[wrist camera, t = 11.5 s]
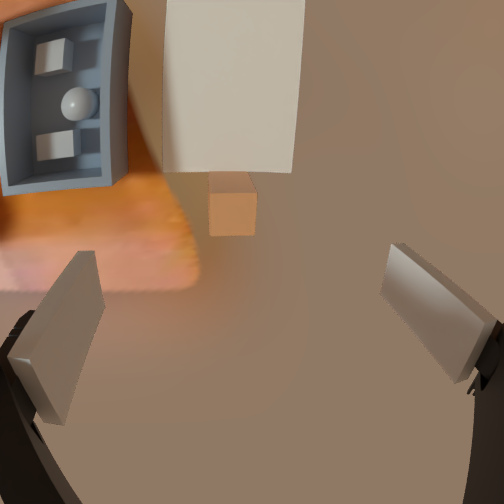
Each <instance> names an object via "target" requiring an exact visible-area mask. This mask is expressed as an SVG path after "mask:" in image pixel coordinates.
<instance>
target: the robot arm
mask: <svg viewBox="0 0 504 504" xmlns="http://www.w3.org/2000/svg"><path fill="white" fill-rule="evenodd" d="M380 295H381V296H382V297H383V298H384V299H385V301H386V302H387V303H388V304H389V305H390V306H391V307H392V309H393V310H394V311H395V312H396V313H397V315H398V316H399V317H400V318H401V319H402V320H403V321H404V323H406V325H407V326H408V327H409V329H410V330H411V331H412V332H413V333H414V334H415V336H416V337H417V338H418V339H419V340H420V342H421V343H422V344H423V345H424V346H425V347H426V349H427V350H428V351H429V352H430V354H431V355H432V356H433V357H434V359H435V360H436V361H437V362H438V364H439V365H440V366H441V367H442V369H443V370H444V371H445V372H446V374H447V375H448V376H449V377H450V379H451V380H452V381H453V382H454V384H456V383H458V382H461V381H463V380H466V379H468V378H469V376H470V374H471V372H472V370H473V369H474V367H476V368H477V370H478V371H479V372H478V374H477V376H476V377H475V379H474V381H473V383H472V384H471V386H470V388H469V389H468V392H467V394H470V392H471V391H472V389H475V391H474V393H473V396H475V408H474V426H473V438H472V447H471V457H470V464H469V471H468V477H467V484H466V489H465V494H464V499H463V504H504V323H503V324H502V323H501V322H499V321H498V320H497V319H496V318H495V317H494V316H493V315H492V314H490V313H489V312H488V311H487V310H486V309H485V308H484V307H483V306H481V305H480V304H479V303H478V302H477V301H476V300H475V299H473V298H472V297H471V296H470V295H469V294H468V293H466V292H465V291H464V290H463V289H461V288H460V287H459V286H458V285H457V284H455V283H454V282H453V281H452V280H450V279H449V278H448V277H447V276H446V275H444V274H443V273H442V272H441V271H439V270H438V269H437V268H436V267H434V266H433V265H432V264H431V263H429V262H428V261H427V260H425V259H424V258H423V257H422V256H420V255H419V254H418V253H416V252H415V251H414V250H412V249H411V248H410V247H408V246H407V245H406V244H404V243H392V244H391V248H390V252H389V257H388V262H387V266H386V270H385V275H384V280H383V283H382V287H381V291H380ZM104 309H105V304H104V299H103V295H102V290H101V285H100V280H99V274H98V269H97V263H96V257H95V251H78V252H77V253H76V255H75V256H74V257H73V259H72V260H71V261H70V262H69V264H68V265H67V266H66V268H65V269H64V271H63V272H62V273H61V275H60V276H59V277H58V279H57V280H56V281H55V283H54V284H53V286H52V287H51V289H50V290H49V291H48V293H47V294H46V296H45V297H44V299H43V300H42V302H41V303H40V305H39V306H38V308H37V309H36V310H29V311H28V312H27V313H25V314H24V315H23V316H22V317H21V318H19V320H18V322H17V323H16V325H15V326H14V329H12V330H11V332H10V333H9V337H7V338H6V340H5V341H4V343H3V345H2V346H1V348H0V495H1V498H2V500H3V502H4V504H82V503H81V501H80V500H79V498H78V497H77V495H76V494H75V492H74V491H73V489H72V488H71V486H70V485H69V483H68V481H67V480H66V478H65V476H64V475H63V473H62V472H61V470H60V468H59V467H58V465H57V463H56V461H55V460H54V458H53V456H52V454H51V452H50V451H49V449H48V447H47V445H46V443H45V441H44V439H43V438H42V435H41V433H40V431H39V429H38V427H37V426H36V424H35V423H34V421H33V419H34V416H35V413H36V411H37V413H38V414H39V416H40V417H41V419H42V420H43V422H45V423H51V424H56V425H65V421H66V418H67V414H68V411H69V407H70V404H71V401H72V398H73V395H74V391H75V388H76V385H77V382H78V379H79V376H80V373H81V370H82V367H83V364H84V362H85V359H86V356H87V353H88V350H89V348H90V345H91V342H92V340H93V337H94V334H95V332H96V329H97V326H98V324H99V321H100V319H101V316H102V314H103V311H104Z"/></svg>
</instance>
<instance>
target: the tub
mask: <svg viewBox="0 0 504 504" xmlns="http://www.w3.org/2000/svg"><path fill="white" fill-rule="evenodd" d="M132 15H133V13H132V12H131V10H130V9H129V7H128V6H127V5H126V3H125V2H124V0H77V1H73V2H68V3H64V4H61V5H57V6H53V7H50V8H46V9H43V10H39V11H36V12H33V13H30V14H27V15H24V16H21V17H18V18H15V19H13V20H10V21H7V22H5V23H4V27H3V33H2V40H1V49H0V176H1V185H2V192H3V196H9V195H17V194H25V193H34V192H44V191H54V190H64V189H76V188H89V187H103V186H112V185H114V184H115V183H116V182H117V181H118V180H120V179H121V178H122V177H123V176H125V175H126V174H127V173H128V149H127V92H128V66H129V48H130V36H131V25H132Z"/></svg>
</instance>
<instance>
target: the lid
mask: <svg viewBox="0 0 504 504" xmlns="http://www.w3.org/2000/svg"><path fill="white" fill-rule="evenodd" d="M304 17H305V0H167V7H166V20H165V35H164V54H163V81H162V157H163V159H162V160H163V173H169V172H170V173H172V172H208V210H209V229H210V236H246V235H255V224H256V210H257V196H258V193H257V191H256V189H255V187H254V185H253V182H252V180H251V178H250V176H249V174H248V172H273V173H291V172H292V163H293V153H294V142H295V131H296V121H297V109H298V98H299V86H300V73H301V59H302V46H303V31H304Z"/></svg>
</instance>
